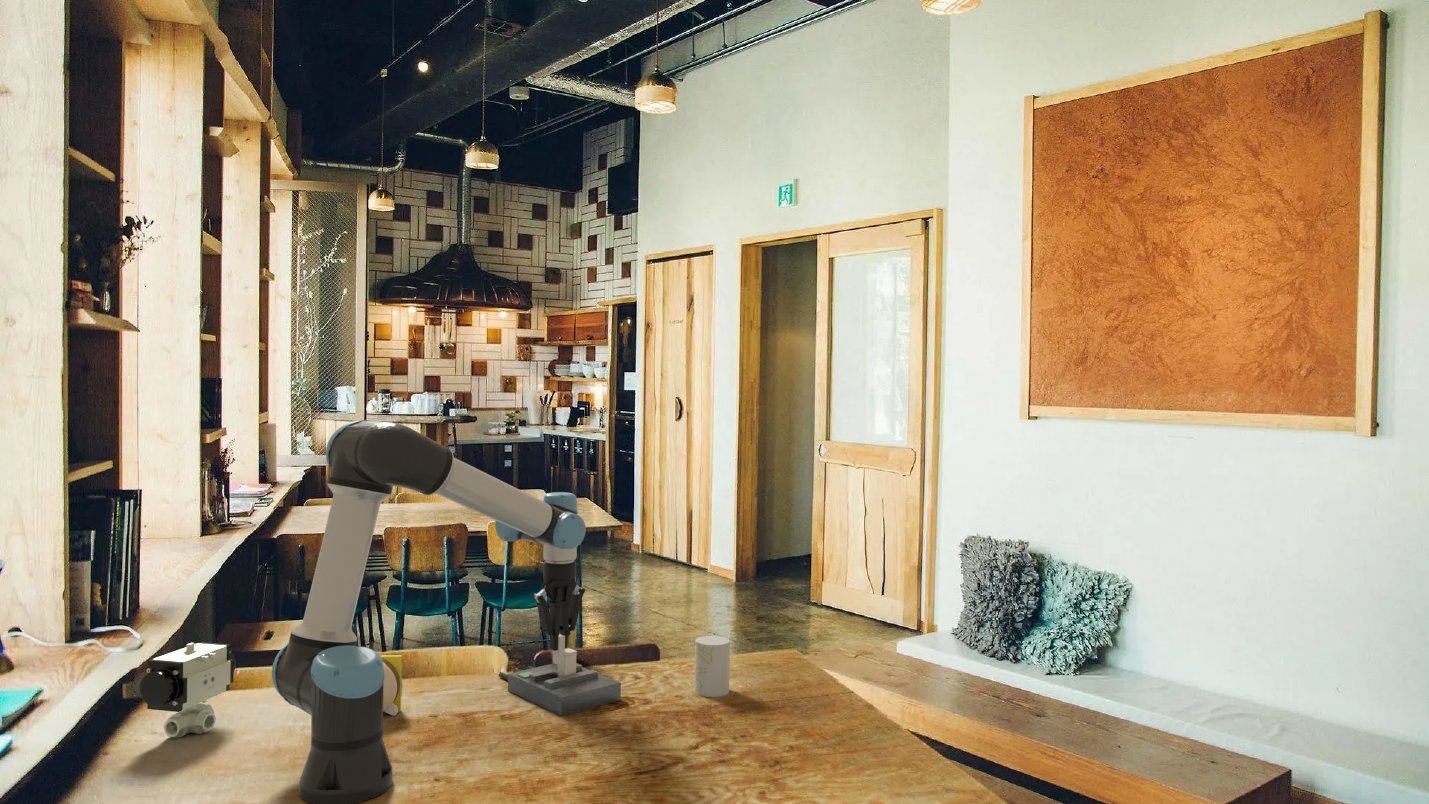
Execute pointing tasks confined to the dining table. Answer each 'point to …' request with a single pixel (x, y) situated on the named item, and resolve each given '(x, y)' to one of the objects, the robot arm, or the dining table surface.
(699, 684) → the white cylinder
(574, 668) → the lever
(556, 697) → the grey slider base
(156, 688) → the ball valve
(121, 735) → the dining table surface
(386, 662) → the yellow block with disc
